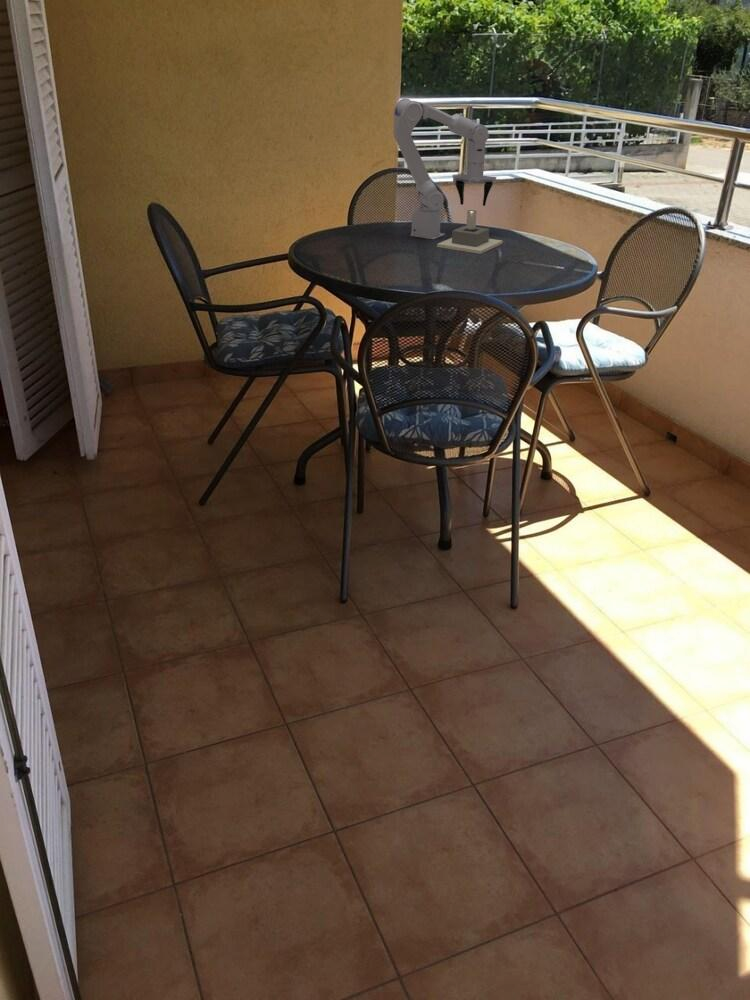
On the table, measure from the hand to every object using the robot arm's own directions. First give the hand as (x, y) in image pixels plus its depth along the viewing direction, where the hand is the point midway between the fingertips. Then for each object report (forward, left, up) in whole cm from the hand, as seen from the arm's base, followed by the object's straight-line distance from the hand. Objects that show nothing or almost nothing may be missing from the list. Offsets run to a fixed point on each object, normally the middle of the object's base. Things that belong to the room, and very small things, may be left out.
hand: (473, 204), depth 286 cm
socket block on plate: (+8, -16, -9) cm, 20 cm away
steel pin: (+8, -16, -8) cm, 20 cm away
